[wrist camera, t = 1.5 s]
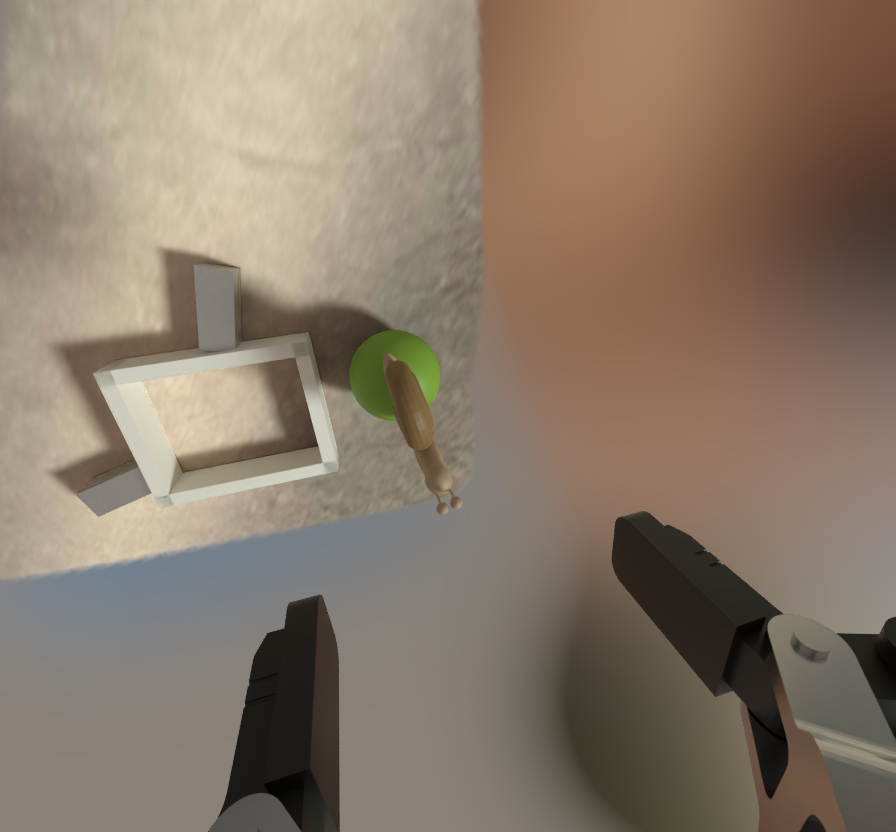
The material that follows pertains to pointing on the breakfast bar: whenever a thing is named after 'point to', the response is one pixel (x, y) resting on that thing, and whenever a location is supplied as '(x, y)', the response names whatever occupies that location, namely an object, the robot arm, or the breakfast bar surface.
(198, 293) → the white rectangular frame piece
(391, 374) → the snail figurine
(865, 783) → the robot arm
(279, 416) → the breakfast bar surface
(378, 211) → the breakfast bar surface
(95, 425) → the breakfast bar surface
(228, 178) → the breakfast bar surface
